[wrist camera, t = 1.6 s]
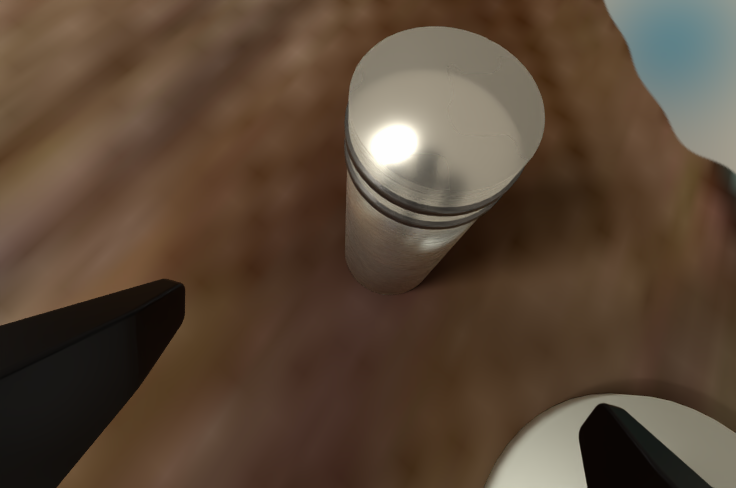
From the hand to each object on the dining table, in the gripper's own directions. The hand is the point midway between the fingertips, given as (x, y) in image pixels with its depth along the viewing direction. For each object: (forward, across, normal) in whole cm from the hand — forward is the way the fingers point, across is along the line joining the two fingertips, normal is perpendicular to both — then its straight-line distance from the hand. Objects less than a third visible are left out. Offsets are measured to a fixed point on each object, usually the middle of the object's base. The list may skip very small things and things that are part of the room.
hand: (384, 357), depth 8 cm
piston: (+14, 0, +4) cm, 14 cm away
